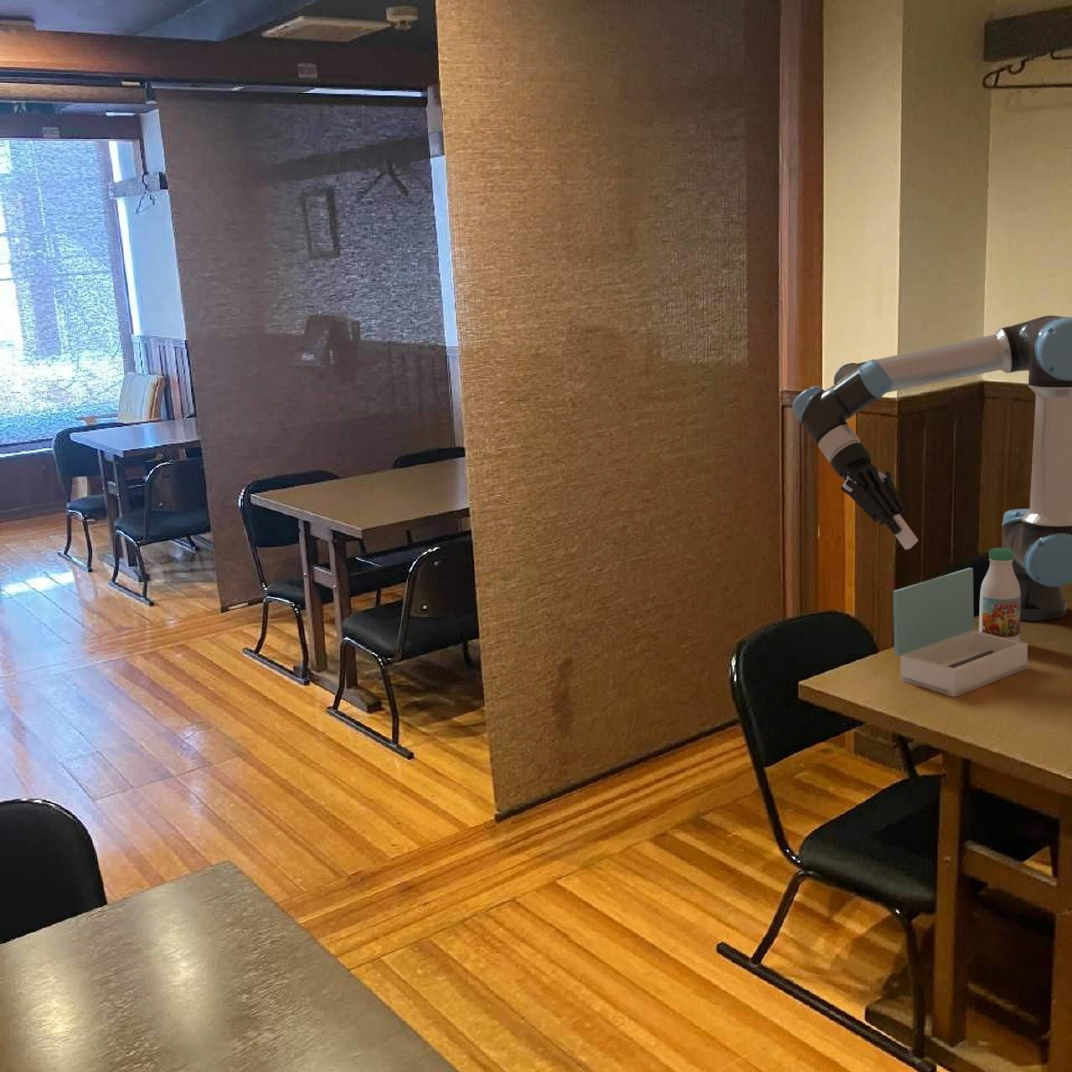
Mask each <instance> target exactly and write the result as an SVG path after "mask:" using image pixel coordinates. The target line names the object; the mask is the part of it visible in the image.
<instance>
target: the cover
mask: <svg viewBox="0 0 1072 1072" xmlns="http://www.w3.org/2000/svg"><path fill="white" fill-rule="evenodd" d="M892 598H893V599H892V600H893V601H892V603H893V604H892V605H893V607H892V609H893V639H894V641H893V645H894V646H893V647H894V656H895V657H901V655H904V654H907V653H910V652H913V651H915V650H918V649H921V648H924V647H927V646H930V645H932V644H935V643H938V642H941V641H944V640H947V639H949V638H952V637H955V636H958V635H961V634H964V633H966V632H969V631H972V630H974V628H975V627H974V625H975V623H974V621H975V620H974V619H975V616H974V614H975V613H974V568H973V567H967V568H964V569H961V570H957V571H953V572H951V573H948V574H947V573H946V574H944V575H941V576H938V577H934V578H931V579H928V580H924V581H922V582H917V583H915V584H911V585H907V586H905V587H901V588H899V589H895V590H892ZM974 631H975V630H974Z"/></svg>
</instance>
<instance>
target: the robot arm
mask: <svg viewBox="0 0 1072 1072" xmlns="http://www.w3.org/2000/svg"><path fill="white" fill-rule="evenodd" d="M996 371H1002V372H1003V373H1005V374H1009V373H1015V372H1024V371H1027V372H1028V383H1027V384H1028V385H1027V386H1028V387H1029V389H1030V390H1031V391H1032V392H1034V394H1035V401H1034V402H1035V406H1034V425H1033V426H1034V427H1033V442H1032V462H1031V463H1032V464H1031V479H1030V483H1031V484H1030V495H1029V496H1030V499H1029V500H1030V501H1029V508H1017V509H1010V510H1007V511H1005V513H1004V514H1003V518H1002V524H1001V527H1002V543H1001V544H1002V545H1001V548H1007V549H1011V550H1013V552H1014V558H1013V560H1014V561H1013V562H1012V567H1013V570H1014V573H1015V576H1016V578H1017V580H1018V582H1019V586H1020V592H1021V608H1020V621H1029V622H1030V621H1031V622H1033V621H1038V622H1039V621H1051V620H1057V619H1060V618H1062V617H1065V615H1067V607H1068V606H1067V604H1068V603H1067V601H1066V599H1065V598H1064V593H1063V589H1062V586H1063V587H1064V586H1067V585H1070V584H1072V317H1070V316H1069V317H1068V316H1059V315H1044V316H1040V317H1037V318H1033V319H1030V320H1027V321H1024V322H1020V323H1018V324H1013V325H1010V326H1005V327H1004V326H1003V327H1000V328H998V329H997V331H996V332H995V333H994V334H991V335H986V336H982V337H977V338H972V339H968V340H962V341H958V342H953V343H948V344H943V345H939V346H934V347H929V348H924V349H920V350H915V351H911V352H906V353H900V354H896V355H892V356H887V357H883V358H876V359H872V358H871V359H870V360H867V361H863V362H859V363H857V362H850V363H846V364H844V365H841V366H840V367H838V369H837V370H836V372H835V374H834V376H833V377H834V378H833V385H832V386H831V387H829V388H826V390H825V389H823V388H822V387H821V386H818V385H814V386H811V387H810V388H808V389H804V390H803V391H802V392H801V393H799V394H798V395H797V396H796V398H795V399H794V400H793V402H792V411H793V413H794V414H795V415H796V418H797V419H798V421H799V423H800V424H801V426H802V427H803V428H804V429H805V431H806V432H807V433H808V435H809V436H810V437H811V439H812V441H813V442H814V443H815V444H816V446H817V447H818V448H819V450H820V452H821V453H822V454H823V455H824V457H825V459H827V461H828V462H829V463H830V466H831V467H832V469H833V470H834V471H835V473H836V475H837V476H838V477H839V478H842V479H844V483H843V485H841V487H840V489H841V491H842V492H843V493H844V494H846V495H848V496H849V497H851V499H852V500H853V501H854V502H855V503H856V504H857V505H858V506H859V507H860V508H861V509H862V510H863V511H864V512H865V513H866V514H867V516H869V518H871V520H872V521H873V522H875V523H878V522H879V525H880V526H884V525H886V526H887V528H888V529H889V530H890V533H892V534H893V535H894V536H895V538H896V539H897V540H898V542H899V543H900V544H901V547H903V549H904V550H910V549H911V548H912V547H914V546H915V545H916V544H917V543H918V542H919V539H918V538H917V536H916V535H915V533H914V532H913V530H912V529H911V528H910V525H909V524H908V523H907V521H906V520H905V518H904V517H903V514H902V513H904V511H906V510H907V509H906V506H905V504H904V501H903V500H902V498H901V496H900V493H898V490H897V488H896V487H895V485H894V482H893V481H892V475H891V472H890V471H885V472H880V471H879V470H878V468H877V467H876V466H874V465H873V464H872V461H871V460H872V455H871V453H870V451H869V450H868V449H867V448H866V447H865V445H864V444H863V443H862V442H861V440H860V438H859V437H858V435H857V434H856V433H855V431H854V429H853V428H852V427H851V426H850V425H849V424H848V422H847V420H849V419H851V418H852V417H853V416H855V415H856V414H858V413H859V412H861V411H862V410H864V409H865V408H867V407H868V406H870V405H871V404H872V403H874V402H875V401H877V400H879V399H881V398H882V397H883V396H884V395H885V394H888V393H891V392H897V391H901V390H907V389H911V388H912V389H913V388H917V387H922V386H926V385H927V386H928V385H931V384H932V385H933V384H937V383H942V382H947V381H952V380H958V379H961V378H966V377H967V378H968V377H971V376H977V375H982V374H987V373H993V372H996Z"/></svg>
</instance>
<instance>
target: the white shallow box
mask: <svg viewBox="0 0 1072 1072" xmlns="http://www.w3.org/2000/svg"><path fill="white" fill-rule="evenodd" d="M1026 669H1028V643H1026V642H1022V641H1015V640H1011V639H1007V638H1003V637H999V636H995V635H990V634H986V633H982V632H979V630H971V631H968V632H965V633H962V634H959V635H957V636H954V637H951V638H948V639H945V640H942V641H940V642H937V643H934V644H931V645H928V646H925V647H923V648H920V649H917V650H914V651H911V652H908V653H905V654H903V655H900V681H901V682H903V683H907V684H910V685H914V686H916V687H919V686H921V687H920V688H923V687H925V688H924V689H926V688H927V690H929V689H930V691H932V690H933V691H932V692H936V691H938V692H937V693H939V692H941V693H940V694H942V693H943V695H945V694H946V696H949V697H952V696H953V697H952V698H956V697H958V696H962V695H964V694H966V693H970V692H971V691H974V690H977V689H979V688H982V687H983V686H986V685H988V684H989V685H990V684H991V683H995V682H997V681H999V680H1001V679H1004V678H1006V677H1008V676H1012V675H1014V674H1016V673H1019V672H1021V671H1024V670H1026Z"/></svg>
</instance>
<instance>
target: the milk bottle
mask: <svg viewBox="0 0 1072 1072" xmlns="http://www.w3.org/2000/svg"><path fill="white" fill-rule="evenodd" d="M988 557H989V558H988V561H989V567H988V570H987V572H986V574H985V576H984V578H983V580H982V582H981V586H980V591H979V592H980V593H979V614H978V615H979V616H978V617H979V618H978V619H979V620H978V621H979V622H978V632H982V633H986V634H990V635H995V636H999V637H1003V638H1007V639H1011V640H1015V641H1019V642H1021V641H1020V640H1021V635H1020V634H1021V620H1020V608H1021V592H1020V586H1019V582H1018V580H1017V578H1016V576H1015V573H1014V570H1013V567H1012V562H1013V561H1014V560H1013V558H1014V552H1013V550H1011V549H1007V548H1002V547H995V548H994V547H993V548H991V549H989V551H988Z"/></svg>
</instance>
